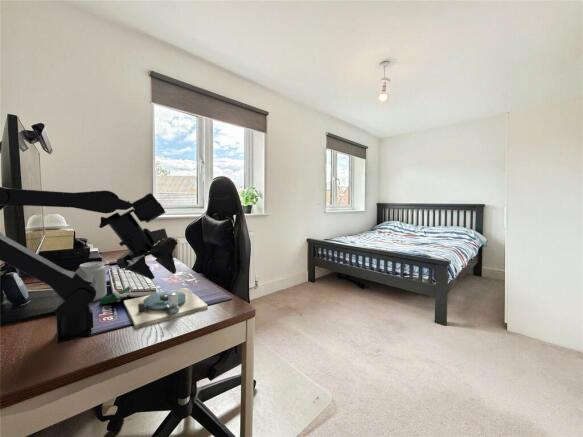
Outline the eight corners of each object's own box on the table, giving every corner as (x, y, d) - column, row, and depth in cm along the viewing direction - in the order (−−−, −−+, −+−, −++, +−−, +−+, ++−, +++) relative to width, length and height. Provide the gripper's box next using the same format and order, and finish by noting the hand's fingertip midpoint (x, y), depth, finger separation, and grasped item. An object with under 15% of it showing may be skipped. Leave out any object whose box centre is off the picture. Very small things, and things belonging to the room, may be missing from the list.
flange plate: (138, 298, 82) (138, 283, 81) (177, 290, 90) (177, 276, 89) (151, 318, 69) (151, 300, 68) (195, 307, 77) (195, 290, 76)
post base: (135, 328, 66) (135, 316, 66) (123, 303, 81) (123, 294, 81) (207, 308, 79) (207, 298, 79) (186, 290, 94) (186, 281, 94)
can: (102, 301, 82) (101, 265, 81) (74, 304, 80) (72, 267, 79) (109, 293, 89) (108, 260, 88) (83, 295, 87) (82, 261, 86)
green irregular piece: (104, 311, 80) (115, 299, 79) (97, 301, 80) (108, 290, 79) (129, 299, 89) (139, 289, 88) (122, 291, 89) (132, 281, 88)
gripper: (173, 209, 72) (202, 252, 77) (130, 226, 79) (160, 264, 84) (145, 229, 62) (180, 277, 68) (99, 246, 69) (135, 288, 75)
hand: (163, 275), depth 74 cm, fingers open, 9 cm apart
